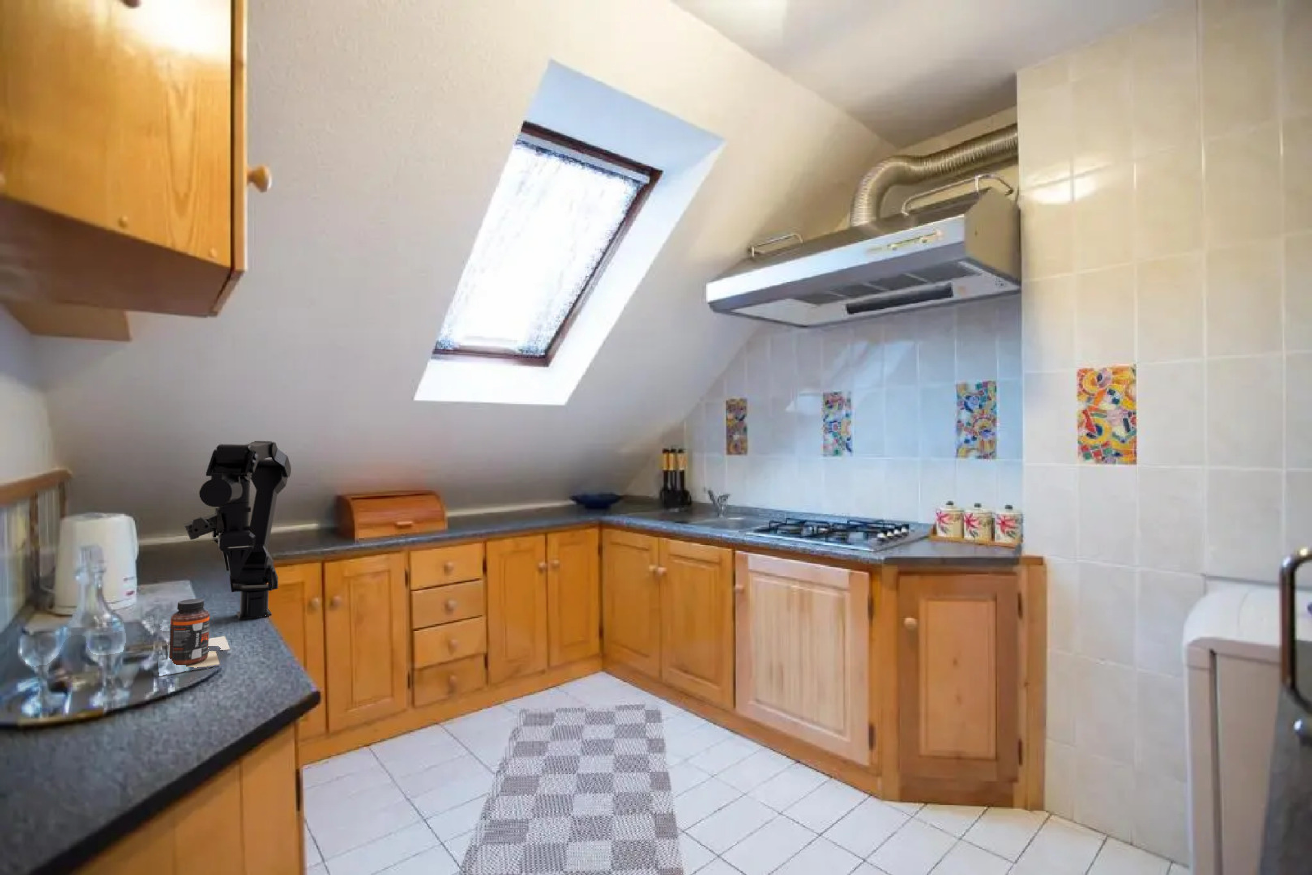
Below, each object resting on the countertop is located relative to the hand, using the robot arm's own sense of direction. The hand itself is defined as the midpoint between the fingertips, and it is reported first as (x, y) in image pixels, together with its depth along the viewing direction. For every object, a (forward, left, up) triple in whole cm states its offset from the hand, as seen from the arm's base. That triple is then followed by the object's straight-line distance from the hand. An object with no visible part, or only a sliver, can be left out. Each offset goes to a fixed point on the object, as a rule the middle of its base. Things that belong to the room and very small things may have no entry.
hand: (231, 574), depth 136 cm
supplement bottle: (+16, -8, -13) cm, 22 cm away
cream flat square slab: (+6, -6, -13) cm, 16 cm away
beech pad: (+16, -8, -13) cm, 22 cm away
